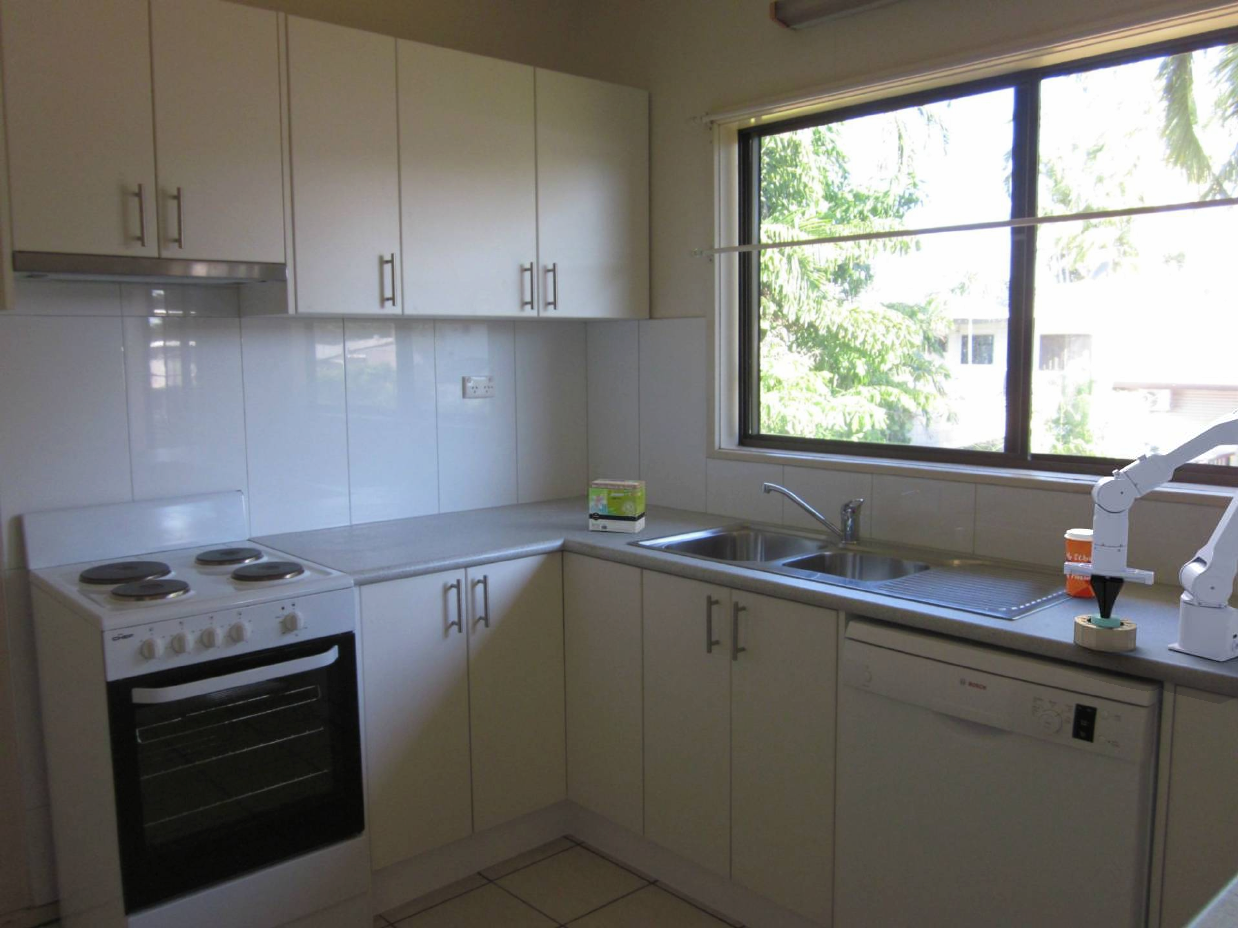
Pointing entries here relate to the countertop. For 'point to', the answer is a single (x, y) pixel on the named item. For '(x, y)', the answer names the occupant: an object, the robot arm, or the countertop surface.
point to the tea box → (617, 505)
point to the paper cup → (1079, 561)
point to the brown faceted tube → (1105, 635)
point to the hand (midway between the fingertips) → (1105, 617)
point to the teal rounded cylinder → (1105, 621)
